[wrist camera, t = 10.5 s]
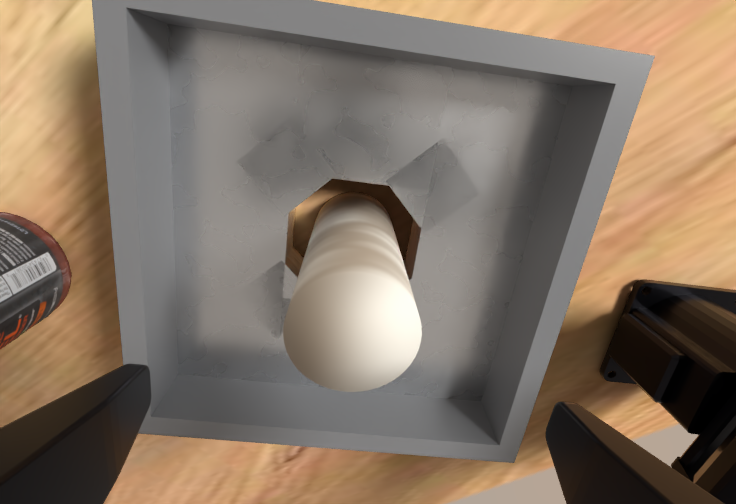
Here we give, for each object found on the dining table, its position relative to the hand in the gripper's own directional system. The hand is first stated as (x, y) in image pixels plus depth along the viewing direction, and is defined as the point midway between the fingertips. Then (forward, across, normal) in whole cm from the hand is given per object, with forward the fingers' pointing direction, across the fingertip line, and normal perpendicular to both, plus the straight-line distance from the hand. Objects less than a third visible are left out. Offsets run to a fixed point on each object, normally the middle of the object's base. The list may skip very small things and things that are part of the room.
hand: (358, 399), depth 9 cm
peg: (+13, 0, 0) cm, 13 cm away
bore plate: (+13, 0, 0) cm, 13 cm away
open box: (+13, 0, 0) cm, 13 cm away
